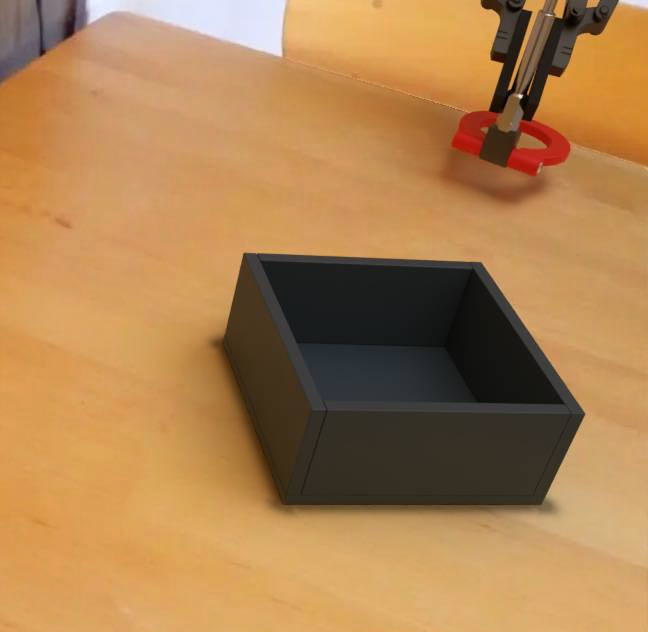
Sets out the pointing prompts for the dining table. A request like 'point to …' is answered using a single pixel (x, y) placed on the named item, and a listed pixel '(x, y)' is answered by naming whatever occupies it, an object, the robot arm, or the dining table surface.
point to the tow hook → (516, 116)
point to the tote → (395, 382)
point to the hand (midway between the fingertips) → (513, 108)
